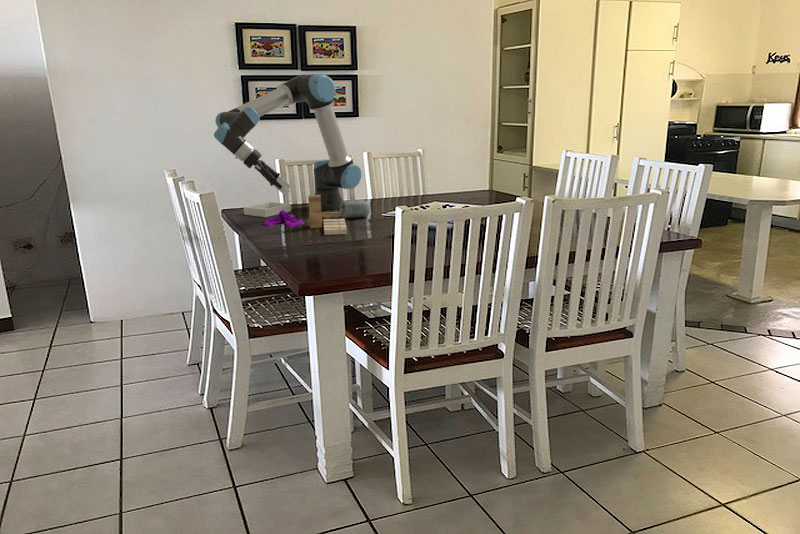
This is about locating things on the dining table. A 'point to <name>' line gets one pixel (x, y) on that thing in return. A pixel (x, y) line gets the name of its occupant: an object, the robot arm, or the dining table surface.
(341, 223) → the board
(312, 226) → the tan angular block
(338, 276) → the dining table surface
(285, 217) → the cloth
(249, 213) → the white shallow tray
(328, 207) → the robot arm
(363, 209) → the spool
